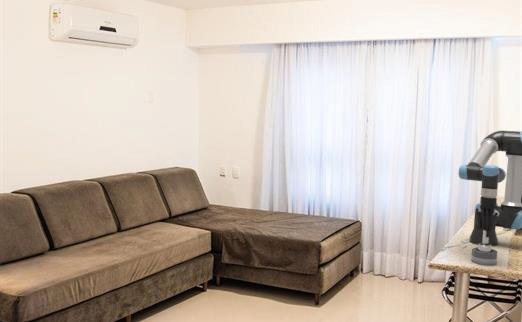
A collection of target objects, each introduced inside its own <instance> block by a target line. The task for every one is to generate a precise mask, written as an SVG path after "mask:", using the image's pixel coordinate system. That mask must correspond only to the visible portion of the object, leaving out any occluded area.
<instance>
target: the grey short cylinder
mask: <svg viewBox="0 0 522 322" xmlns="http://www.w3.org/2000/svg"><path fill="white" fill-rule="evenodd" d="M470 260H471V263H473V264H477V265H479V266H480V265H481V266H488V267H489V266H496V265H497V264H498V250H496V249H493V248H491V252H481V251H478V247H472V250H471V258H470Z"/></svg>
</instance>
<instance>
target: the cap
mask: <svg viewBox="0 0 522 322" xmlns="http://www.w3.org/2000/svg"><path fill="white" fill-rule="evenodd" d="M477 245H478V251H481V252H491V249H492V246H491V244H489V243H487V244H484V243H479V244H477Z"/></svg>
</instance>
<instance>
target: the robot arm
mask: <svg viewBox="0 0 522 322" xmlns="http://www.w3.org/2000/svg"><path fill="white" fill-rule="evenodd" d="M497 152H505V156H506V157H507V166H506V171H505V170H504V168H501V167H499V166H498V165H494V164H493V165H492V164H487V163H488V162H489V161H490V159H491V157H492V156H493V155H494V154H496V153H497ZM458 177H459V179H461V180H466V181H473V182H474V181H475V182H477V181H478V182H481V187H480V190H481V191H480V202H478V203H477V204H475V206H474V207H475V208H474V220H473V221H474V222H473V229H472V231H471V233H470V236H469V242H470V243H472V244H475V245H479V243H484V244H487V243H489V244H491V247H492V246H493V247H494V246H497V245H498V244H499V239H498V236H497V232H496V227H498V228H505V229H510V230H521V229H522V131H520V130H519V131H517V130H516V131H515V130H514V131H513V130H497V131H494V132H492V133H490V134H488V135H487V136H485V137H484V138H483V140H482V141H481V142H480V147H479V148H478V149H477V151H476V152H475V154H474V155H473V157H472V158H471V159H470V161H469V163H468V164H462V165H460V166H459V169H458ZM504 180H505V188H504V189H505V191H504V198H503V199H504V200H503V201H502V202H501V203H500V205H498V203H497V200H498V199H497V197H498V188H499V183H502V182H504Z"/></svg>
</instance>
